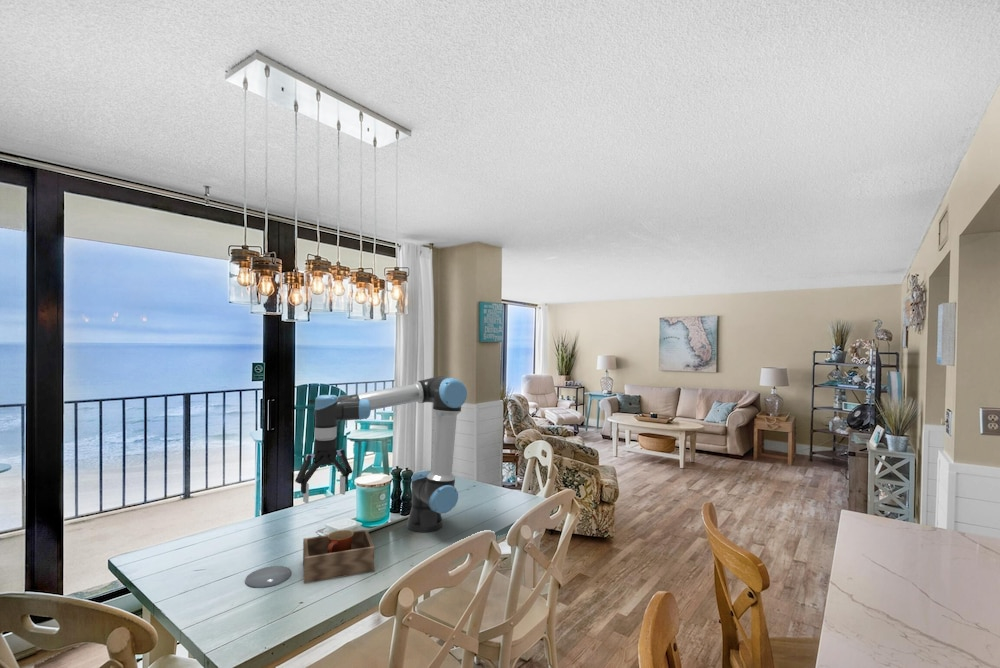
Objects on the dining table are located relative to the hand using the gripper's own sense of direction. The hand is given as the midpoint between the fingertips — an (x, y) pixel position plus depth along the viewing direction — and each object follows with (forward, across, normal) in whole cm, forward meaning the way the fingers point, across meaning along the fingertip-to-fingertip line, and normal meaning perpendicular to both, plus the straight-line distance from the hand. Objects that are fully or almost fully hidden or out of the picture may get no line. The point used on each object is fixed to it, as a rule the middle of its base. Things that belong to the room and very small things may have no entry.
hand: (324, 497), depth 173 cm
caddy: (+23, -2, +6) cm, 24 cm away
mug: (+23, -2, +6) cm, 24 cm away
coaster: (+23, +18, -2) cm, 29 cm away
